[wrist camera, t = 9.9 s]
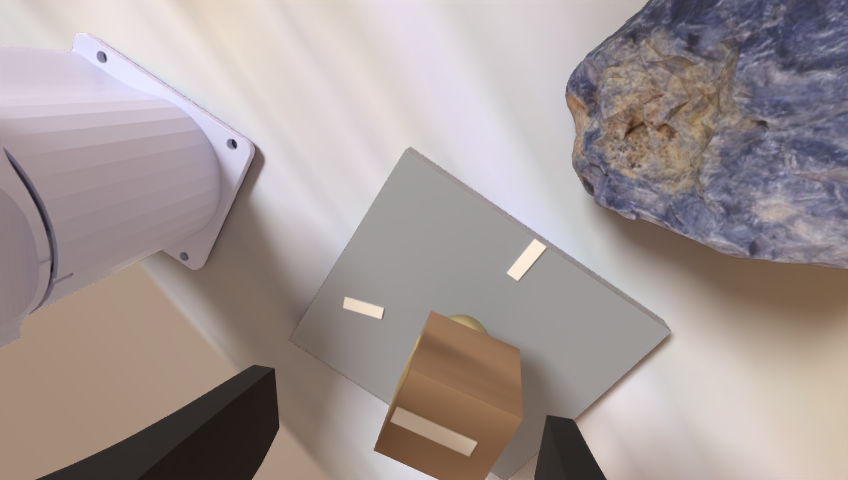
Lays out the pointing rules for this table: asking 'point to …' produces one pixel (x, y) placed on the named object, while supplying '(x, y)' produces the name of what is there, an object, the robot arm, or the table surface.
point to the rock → (723, 125)
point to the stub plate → (473, 301)
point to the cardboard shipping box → (454, 402)
